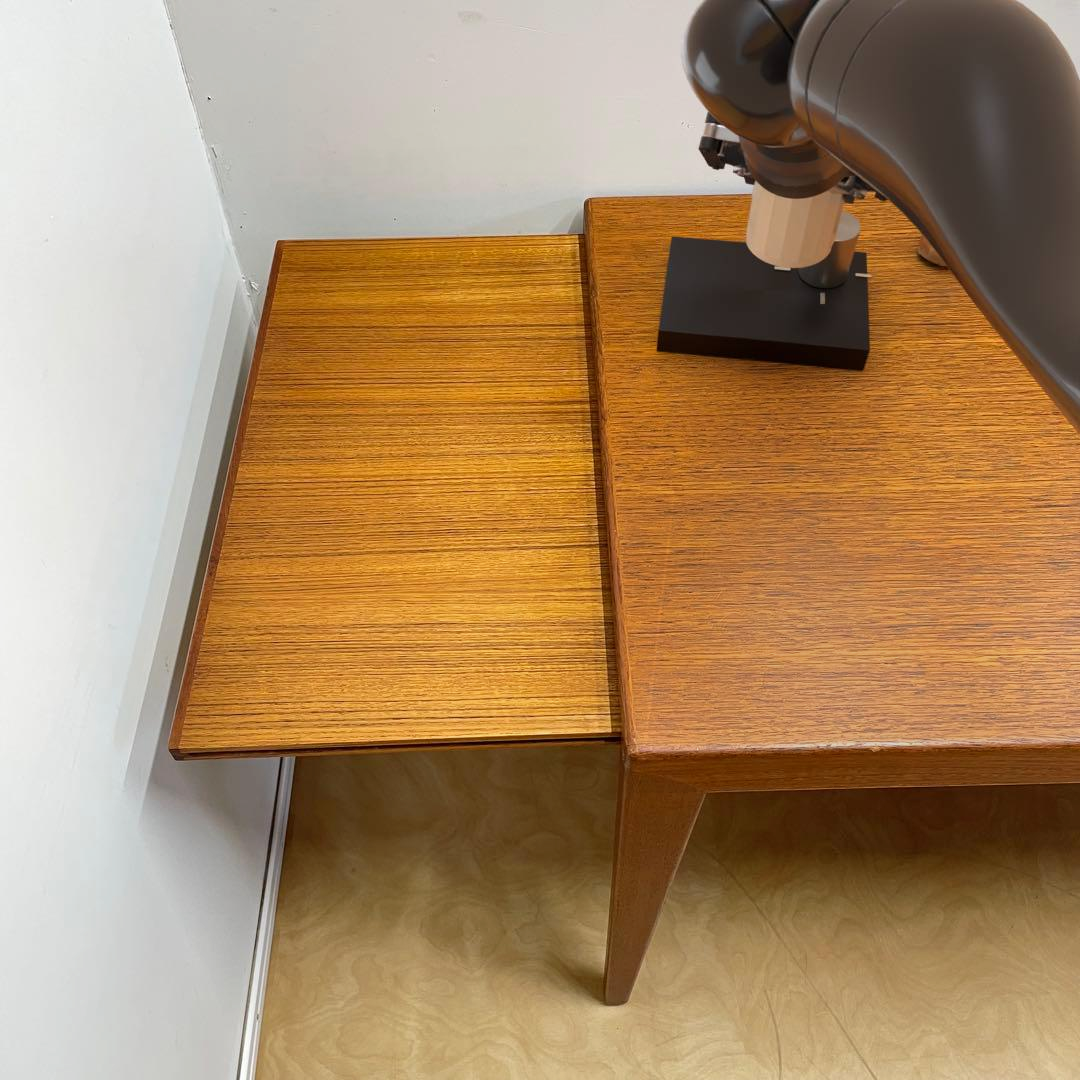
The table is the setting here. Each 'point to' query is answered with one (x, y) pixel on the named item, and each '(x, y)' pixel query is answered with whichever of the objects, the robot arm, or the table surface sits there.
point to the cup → (792, 227)
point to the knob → (835, 256)
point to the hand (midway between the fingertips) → (803, 180)
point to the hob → (760, 308)
